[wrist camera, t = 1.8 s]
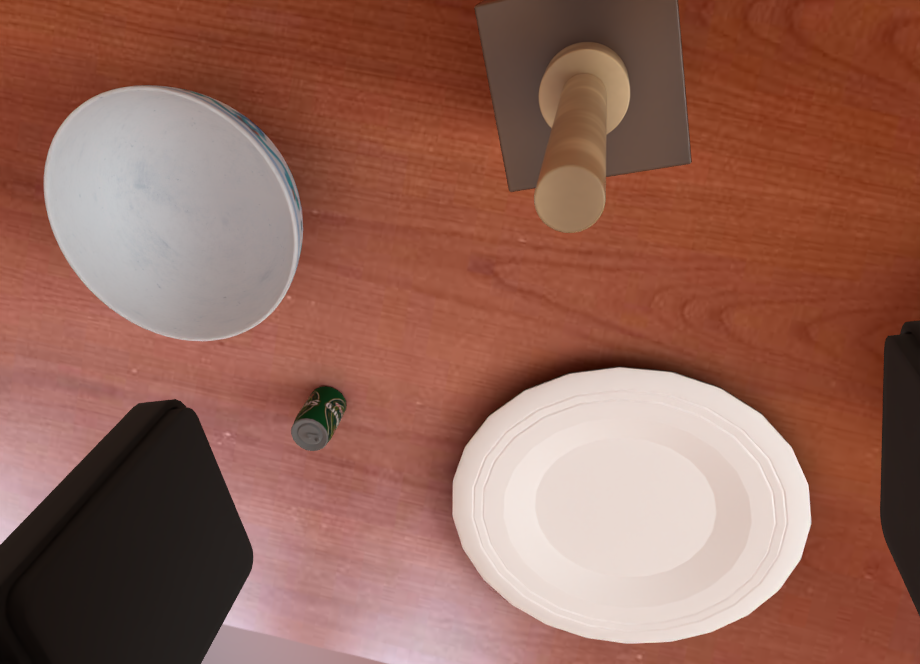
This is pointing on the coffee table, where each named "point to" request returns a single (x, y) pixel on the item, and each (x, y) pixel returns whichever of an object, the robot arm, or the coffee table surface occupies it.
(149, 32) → the coffee table surface
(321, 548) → the coffee table surface
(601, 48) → the stick
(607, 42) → the stand
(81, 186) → the chinaware
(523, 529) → the plate
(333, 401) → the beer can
